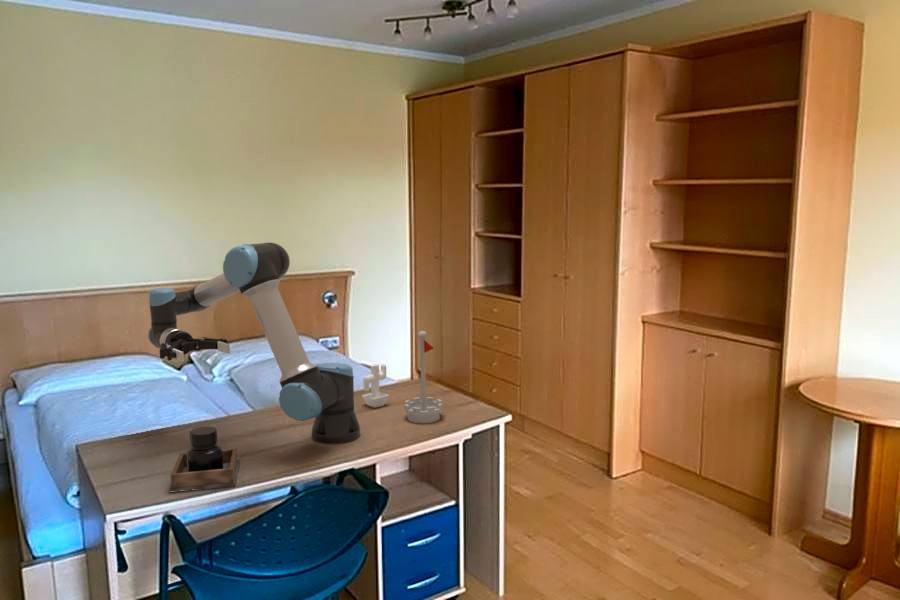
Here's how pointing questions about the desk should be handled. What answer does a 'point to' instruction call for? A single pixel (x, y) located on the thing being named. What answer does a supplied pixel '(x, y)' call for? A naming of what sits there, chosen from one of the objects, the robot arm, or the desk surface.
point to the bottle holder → (205, 474)
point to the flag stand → (423, 394)
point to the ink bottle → (204, 450)
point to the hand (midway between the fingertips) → (206, 353)
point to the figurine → (375, 387)
